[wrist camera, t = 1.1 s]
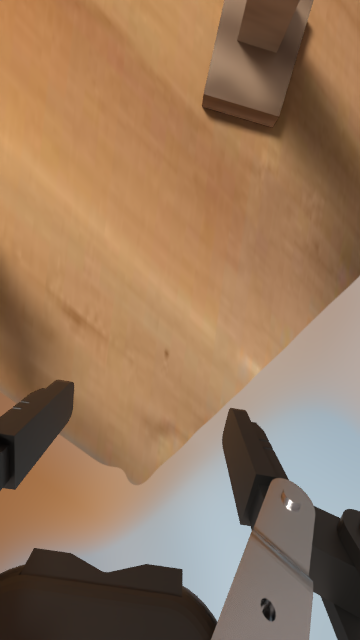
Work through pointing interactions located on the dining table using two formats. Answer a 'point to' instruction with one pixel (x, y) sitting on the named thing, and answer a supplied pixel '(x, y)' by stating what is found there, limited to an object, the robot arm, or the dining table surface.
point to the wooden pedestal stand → (255, 57)
